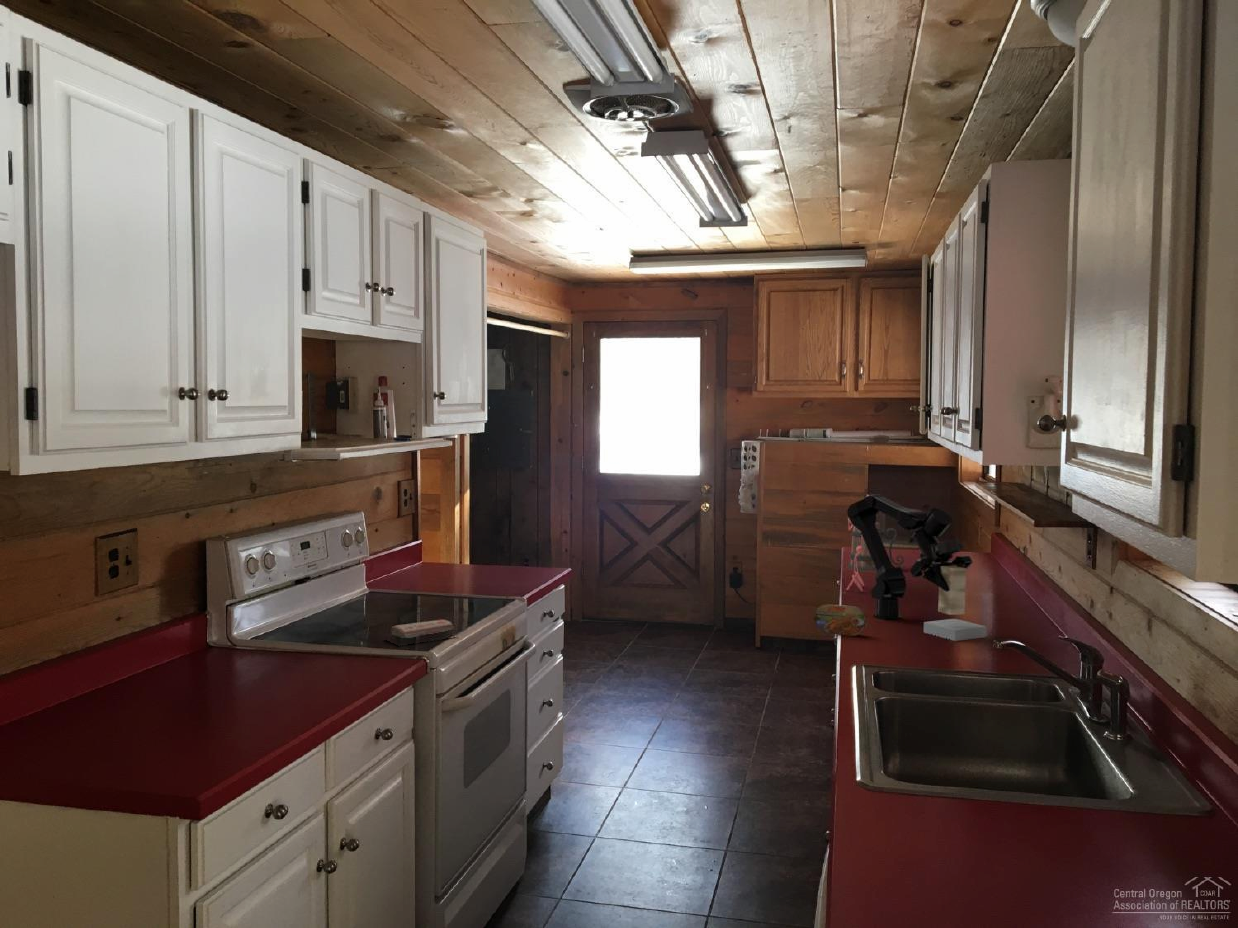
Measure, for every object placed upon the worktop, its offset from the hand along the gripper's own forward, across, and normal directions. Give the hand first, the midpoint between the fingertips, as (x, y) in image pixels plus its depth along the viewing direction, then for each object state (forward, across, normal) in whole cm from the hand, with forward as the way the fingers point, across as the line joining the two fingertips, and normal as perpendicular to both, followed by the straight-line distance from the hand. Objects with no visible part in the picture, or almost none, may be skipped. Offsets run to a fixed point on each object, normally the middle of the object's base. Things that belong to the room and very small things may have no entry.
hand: (955, 590), depth 268 cm
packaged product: (-28, -140, +49) cm, 151 cm away
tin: (-1, -28, +21) cm, 35 cm away
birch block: (+4, 0, +6) cm, 7 cm away
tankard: (-66, +58, +88) cm, 124 cm away
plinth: (+8, +2, +11) cm, 14 cm away
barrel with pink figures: (-40, +25, +60) cm, 77 cm away
